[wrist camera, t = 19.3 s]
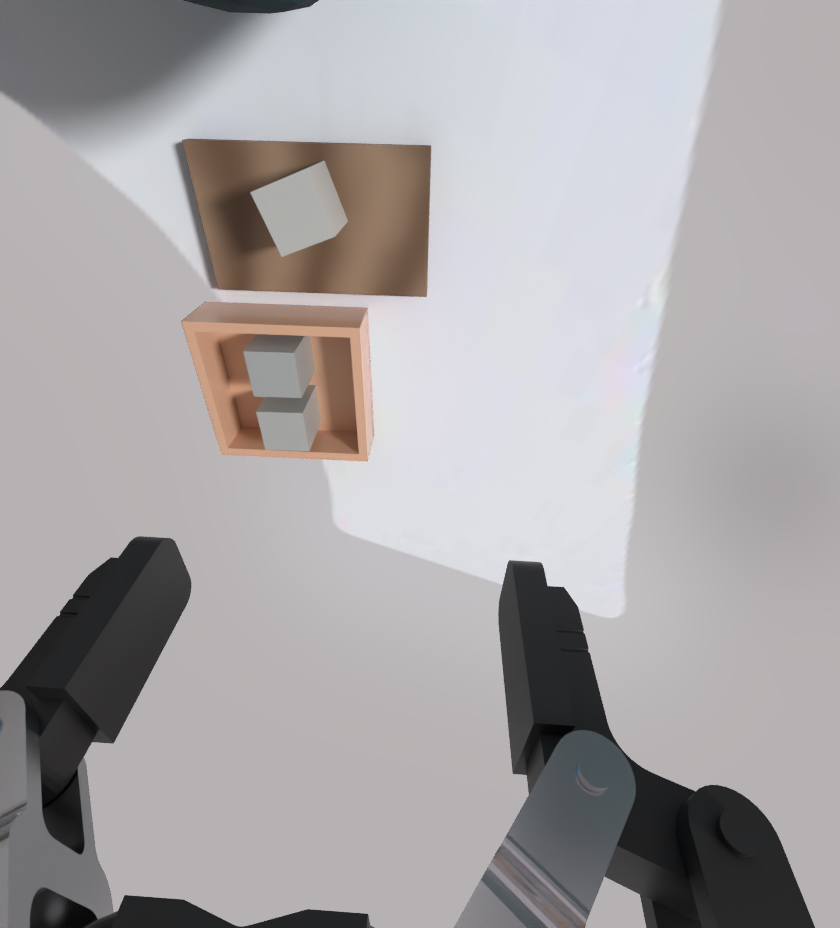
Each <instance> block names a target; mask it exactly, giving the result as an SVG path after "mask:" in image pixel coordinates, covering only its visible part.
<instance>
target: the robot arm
mask: <svg viewBox="0 0 840 928" xmlns="http://www.w3.org/2000/svg"><path fill="white" fill-rule="evenodd" d="M190 593H191V579H190V576H189V573H188V571H187V569H186V566H185V564H184V562H183V559H182V557H181V555H180V552H179V550H178V547H177V545H176V543H175V541H174V540H173V539H170V538H156V537H136V538H134V539H133V540H132V541H131V542H130V543H129V544H128V545H127V547H126V548H125V550H124V551H123V552H122V554H121V555H120V556H119V558H110V559H109V560H107V561H106V562H105V563H103V564H102V565H101V566H99V567H98V568H97V569H96V570H94V571H93V572H92V573H90V574H89V575H88V576H87V578H86V579H85V580H84V581H83V583H82V584H81V585H80V587H79V588H78V589H77V591H76V592H75V593H74V594H73V599H70V600H69V601H68V602H67V604H66V605H65V606H64V607H63V609H62V610H61V611H60V616H57V617H56V618H55V619H54V621H53V622H52V623H51V624H50V626H49V627H48V628H47V630H46V631H45V632H44V634H43V635H42V636H41V638H40V639H39V640H38V641H37V643H36V644H35V645H34V647H33V648H32V649H31V650H30V652H29V653H28V654H27V656H26V657H25V658H24V660H23V661H22V662H21V664H20V665H19V666H18V667H17V669H16V670H15V671H14V673H13V674H12V675H11V676H10V678H9V679H8V680H7V681H6V683H5V684H4V685H3V686H2V687H1V688H0V928H374V927H372V926H370V922H369V917H368V914H361V913H348V912H335V911H321V910H309V909H308V910H304V911H300V912H297V913H293V914H289V915H286V916H282V917H278V918H275V919H271V920H268V921H264V922H260V923H257V924H253V925H249V926H244V927H238V926H235V925H233V924H231V923H229V922H227V921H225V920H223V919H221V918H219V917H217V916H215V915H213V914H211V913H209V912H207V911H205V910H203V909H201V908H199V907H197V906H195V905H193V904H191V903H189V902H187V901H185V900H180V899H179V900H178V899H167V898H153V897H140V896H128V895H125V896H124V898H123V901H122V903H121V905H120V908H119V910H118V911H117V912H114V913H113V905H112V898H111V892H110V888H109V884H108V881H107V878H106V875H105V873H104V871H103V869H102V868H101V866H100V864H99V861H98V858H97V854H96V849H95V840H94V831H93V822H92V813H91V804H90V795H89V786H88V776H87V767H86V762H85V759H84V758H83V757H84V755H85V754H86V752H87V750H88V748H89V746H90V745H91V743H92V742H100V743H114V741H115V740H116V738H117V736H118V734H119V732H120V730H121V728H122V726H123V724H124V722H125V721H126V719H127V717H128V715H129V713H130V711H131V709H132V707H133V705H134V703H135V702H136V700H137V698H138V696H139V694H140V692H141V690H142V688H143V686H144V684H145V683H146V681H147V679H148V677H149V675H150V673H151V671H152V669H153V667H154V665H155V664H156V662H157V660H158V658H159V656H160V654H161V652H162V650H163V648H164V646H165V645H166V643H167V641H168V639H169V637H170V635H171V633H172V631H173V629H174V627H175V626H176V624H177V622H178V620H179V618H180V616H181V614H182V612H183V610H184V609H185V607H186V605H187V603H188V600H189V597H190ZM583 630H584V629H583V625H582V621H581V617H580V613H579V609H578V607H577V605H576V604H575V602H574V601H573V599H572V598H571V597H570V595H569V594H568V592H567V591H566V589H565V588H564V587H551V586H547V582H546V577H545V572H544V568H543V565H542V563H540V562H527V561H509V562H508V565H507V569H506V573H505V578H504V582H503V587H502V591H501V596H500V601H499V632H500V642H501V653H502V664H503V674H504V684H505V695H506V705H507V716H508V727H509V738H510V748H511V759H512V769H513V774H524V775H527V781H528V789H529V796H528V798H527V800H526V801H525V803H524V805H523V807H522V808H521V810H520V812H519V814H518V816H517V817H516V819H515V821H514V823H513V825H512V826H511V828H510V830H509V832H508V833H507V835H506V837H505V839H504V841H503V842H502V844H501V846H500V847H499V849H498V851H497V852H496V854H495V856H494V857H493V859H492V861H491V863H490V864H489V866H488V868H487V870H486V871H485V873H484V875H483V877H482V878H481V880H480V882H479V884H478V886H477V887H476V889H475V891H474V893H473V895H472V896H471V898H470V900H469V902H468V903H467V905H466V907H465V909H464V911H463V912H462V914H461V916H460V918H459V919H458V922H457V923H456V925H455V927H454V928H585V925H586V922H587V919H588V916H589V913H590V911H591V908H592V906H593V903H594V901H595V898H596V896H597V893H598V891H599V888H600V886H601V883H602V881H603V878H604V876H605V877H607V878H609V879H611V880H613V881H615V882H617V883H619V884H621V885H623V886H625V887H627V888H628V889H631V890H633V891H635V892H637V893H638V894H640V897H641V902H642V907H643V912H644V917H645V922H646V927H647V928H815V926H814V924H813V922H812V919H811V916H810V914H809V912H808V909H807V906H806V904H805V902H804V899H803V896H802V894H801V892H800V889H799V887H798V884H797V882H796V879H795V877H794V874H793V872H792V869H791V867H790V864H789V862H788V859H787V857H786V854H785V852H784V849H783V847H782V844H781V842H780V840H779V837H778V835H777V833H776V831H775V830H774V828H773V826H772V825H771V823H770V822H769V820H768V819H767V818H766V816H765V815H764V814H763V813H762V812H761V811H760V810H759V809H758V807H757V806H755V805H754V804H753V803H752V802H751V801H750V800H748V799H747V798H746V797H744V796H743V795H741V794H740V793H738V792H736V791H734V790H732V789H729V788H727V787H723V786H719V785H709V786H704V787H702V788H700V789H698V790H697V791H696V792H695V791H693V790H691V789H688V788H686V787H684V786H681V785H679V784H676V783H674V782H672V781H670V780H667V779H665V778H663V777H660V776H658V775H656V774H653V773H651V772H649V771H647V770H645V769H644V768H642V767H641V766H639V765H638V764H636V763H635V762H634V761H633V760H631V759H630V758H629V757H628V756H627V755H626V754H625V753H624V752H623V751H622V749H621V748H620V747H619V745H618V744H617V742H616V741H615V739H614V737H613V735H612V733H611V731H610V729H609V726H608V723H607V719H606V715H605V711H604V707H603V704H602V700H601V696H600V692H599V688H598V684H597V680H596V676H595V672H594V668H593V665H592V660H591V656H590V653H589V652H588V645H587V641H586V637H585V634H584V633H583Z"/></svg>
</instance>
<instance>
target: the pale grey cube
mask: <svg viewBox="0 0 840 928" xmlns="http://www.w3.org/2000/svg"><path fill="white" fill-rule="evenodd" d="M250 193H251V195H252V197H253V199H254V201H255V203H256V205H257V208H258V210H259V212H260V214H261V216H262V218H263V220H264V222H265V224H266V226H267V228H268V230H269V232H270V234H271V236H272V238H273V240H274V242H275V244H276V247H277V249H278V251H279V253H280V255H281V257H283V256H286V255H288V254H291V253H293V252H296V251H299V250H301V249H304V248H307V247H309V246H312V245H315V244H317V243H320V242H323V241H325V240H328V239H330V238H333V237H335V236H336V235H337V234H338V233H339V232H340V230H341V229H342V228H343V227H344V226H345V225H346V223H347V222H348V220H347V217H346V215H345V212H344V209H343V207H342V204H341V202H340V199H339V197H338V194H337V191H336V189H335V186H334V184H333V181H332V179H331V176H330V173H329V171H328V168H327V166H326V163H325V161H322V162H319V163H317V164H315V165H312V166H310V167H307V168H305V169H303V170H300V171H298V172H296V173H293V174H291V175H289V176H286V177H284V178H282V179H279V180H277V181H274V182H272V183H270V184H268V185H265V186H263V187H261V188H259V189H257V190H254V191H252V192H250Z"/></svg>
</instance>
